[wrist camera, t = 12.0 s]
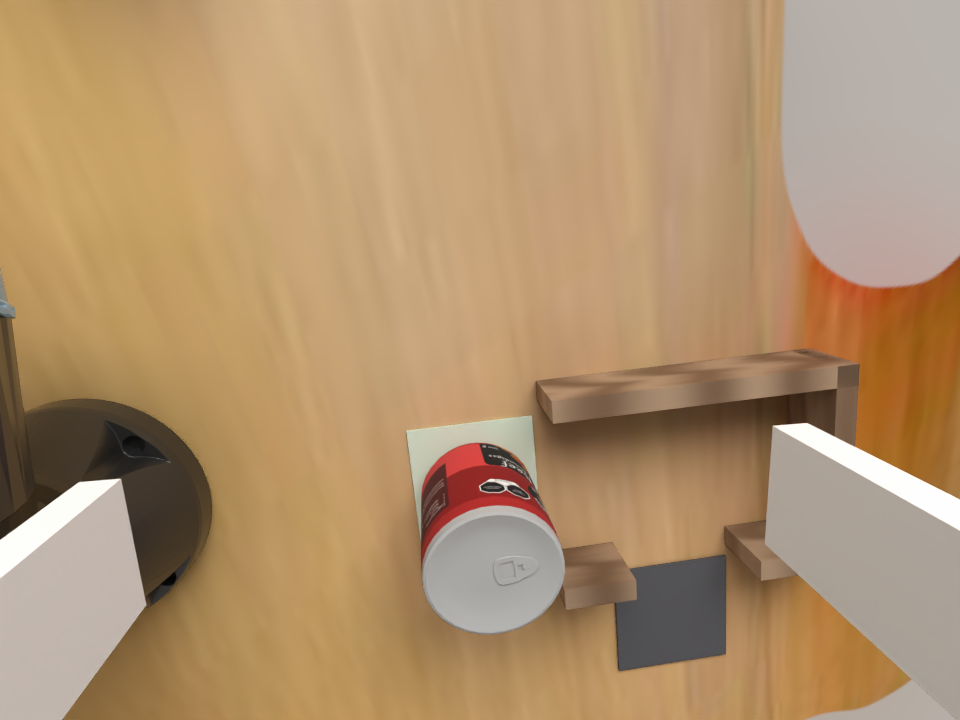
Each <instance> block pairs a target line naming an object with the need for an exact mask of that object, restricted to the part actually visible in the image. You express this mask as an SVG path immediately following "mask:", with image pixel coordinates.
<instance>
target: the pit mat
mask: <svg viewBox="0 0 960 720" xmlns="http://www.w3.org/2000/svg"><path fill="white" fill-rule="evenodd" d="M629 570H630V571H631V573H632V574H633V576H634V578H635V579H636V588H637V600H631V601H624V602H617V603H615V604H616V625H617V647H618V668H619V671H622V670H629V669H635V668H641V667H647V666H654V665H660V664H666V663H672V662H679V661H685V660H691V659H697V658H704V657H710V656H716V655H722V654H726V556H725V555H721V556H714V557H707V558H700V559H693V560H686V561H679V562H673V563H666V564H659V565H652V566H645V567H638V568H632V569H629Z"/></svg>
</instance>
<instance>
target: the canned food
mask: <svg viewBox="0 0 960 720" xmlns="http://www.w3.org/2000/svg"><path fill="white" fill-rule="evenodd" d="M421 573H422V582H423V586H424V592H425V594H426V597H427V600H428V602H429V604H430V605H431V607H432V608H433V610H434V611H435V612H436V613H437V614H438V615H439V616H440V617H441V618H442V619H443V620H444V621H446V622H447V623H449V624H450V625H452V626H453V627H456V628H458V629H461V630H463V631H466V632H471V633H476V634H499V633H506V632H509V631H512V630H516V629H519V628H521V627H523V626H525V625H527V624H529V623H531V622H532V621H534V620H535V619H537V618H538V617H539V616H541V615H542V614H543V613H544V612H545V611H546V610H547V609H548V608H549V607H550V606H551V604H552V603H553V601H554V600H555V598H556V597H557V595H558V594H559V591H560V589H561V586H562V584H563V579H564V574H565V560H564V556H563V551H562V547H561V544H560V541H559V539H558V537H557V534H556V531H555V529H554V527H553V525H552V522H551V520H550V518H549V516H548V514H547V512H546V509H545V507H544V505H543V503H542V501H541V499H540V496H539V494H538V492H537V490H536V488H535V486H534V483H533V481H532V479H531V477H530V475H529V473H528V471H527V469H526V467H525V465H524V464H523V463H522V462H521V461H520V459H519V458H518V457H517V456H515V455H514V454H513V453H511V452H510V451H508V450H506V449H504V448H502V447H499V446H497V445H493V444H489V443H469V444H465V445H461V446H458V447H456V448H454V449H452V450H450V451H448V452H447V453H445V454H444V455H443V456H441V457H440V458H439V459H438V460H437V461H436V463H435V464H434V465H433V466H432V467H431V468H430V470H429V472H428V473H427V475H426V477H425V480H424V483H423V486H422V494H421Z"/></svg>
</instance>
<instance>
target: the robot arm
mask: <svg viewBox="0 0 960 720" xmlns="http://www.w3.org/2000/svg"><path fill="white" fill-rule="evenodd" d="M11 318H13V319H14V318H16V317H15V309H14V307H13V306H12V305H10V304H9V303H8V299H7V295H6V291H5V287H4V282H3V278H2V274H1V270H0V720H62V719H63V718H64V716H65V715H66V714H67V712H68V711H69V710H70V708H71V707H72V706H73V704H74V703H75V701H76V700H77V699H78V697H79V696H80V695H81V693H82V692H83V691H84V689H85V688H86V686H87V685H88V684H89V682H90V681H91V680H92V678H93V677H94V676H95V674H96V673H97V672H98V670H99V669H100V667H101V666H102V665H103V663H104V662H105V661H106V659H107V658H108V657H109V655H110V654H111V653H112V651H113V650H114V648H115V647H116V646H117V644H118V643H119V642H120V640H121V639H122V638H123V636H124V635H125V634H126V632H127V631H128V629H129V628H130V627H131V625H132V624H133V623H134V621H135V620H136V619H137V617H138V616H139V614H140V613H141V612H142V611H143V610H144V609H146V608H148V607H149V606H151V605H153V604H154V603H155V602H157V601H158V600H160V599H161V598H163V597H164V596H165V595H166V594H167V593H169V592H170V591H171V590H172V589H173V588H174V587H175V586H176V585H177V584H178V583H179V582H180V581H181V579H182V578H183V577H184V576H185V574H186V573H187V571H188V570H189V568H190V567H191V565H192V564H193V563H194V561H195V560H196V558H197V557H198V555H199V554H200V552H201V550H202V548H203V546H204V544H205V542H206V539H207V536H208V533H209V529H210V524H211V515H212V504H211V495H210V490H209V486H208V482H207V480H206V477H205V474H204V472H203V470H202V468H201V466H200V464H199V462H198V460H197V459H196V457H195V456H194V454H193V453H192V451H191V450H190V449H189V447H188V446H187V445H186V444H185V443H184V442H183V441H182V440H181V439H180V438H179V437H178V436H177V435H176V434H175V433H174V432H173V431H172V430H171V429H169V428H168V427H167V426H165V425H164V424H163V423H161V422H160V421H158V420H157V419H155V418H153V417H151V416H150V415H148V414H146V413H144V412H141V411H139V410H137V409H134V408H132V407H129V406H126V405H123V404H119V403H115V402H110V401H105V400H97V399H70V400H62V401H57V402H52V403H49V404H45V405H42V406H39V407H37V408H34V409H32V410H30V411H28V412H25V413H24V408H23V402H22V395H21V389H20V381H19V373H18V366H17V358H16V350H15V342H14V335H13V327H12V319H11ZM765 545H766V546H767V547H768V548H770V549H771V550H772V551H773V552H774V553H775V554H776V555H777V556H778V557H779V558H780V559H782V560H783V561H784V562H785V563H786V564H787V565H788V566H789V567H790V568H791V569H792V570H794V571H795V572H796V573H797V574H798V575H799V576H800V577H801V578H802V579H803V580H804V581H806V582H807V583H808V584H809V585H810V586H811V587H812V588H813V589H814V590H815V591H816V592H817V593H819V594H820V595H821V596H822V597H823V598H824V599H825V600H826V601H827V602H828V603H829V604H831V605H832V606H833V607H834V608H835V609H836V610H837V611H838V612H839V613H840V614H841V615H843V616H844V617H845V618H846V619H847V620H848V621H849V622H850V623H851V624H852V625H853V626H855V627H856V628H857V629H858V630H859V631H860V632H861V633H862V634H863V635H864V636H865V637H867V638H868V639H869V640H870V641H871V642H872V643H873V644H874V645H875V646H876V647H877V648H878V649H880V650H881V651H882V652H883V653H884V654H885V655H886V656H887V657H888V658H889V659H890V660H892V661H893V662H894V663H895V664H896V665H897V666H898V667H899V668H900V669H901V670H902V671H904V672H905V673H906V674H907V675H908V676H909V677H910V678H911V679H912V680H913V681H914V682H916V683H917V684H918V685H919V686H920V687H921V688H922V689H923V690H924V691H925V692H926V693H927V694H929V695H930V696H931V697H932V698H933V699H934V700H935V701H936V702H938V703H939V704H940V705H941V706H942V707H943V708H944V709H945V710H946V711H947V712H948V713H949V714H950V715H952V716H953V717H954V718H955V719H956V720H960V499H958V498H956V497H954V496H952V495H950V494H948V493H946V492H944V491H942V490H940V489H938V488H936V487H934V486H932V485H930V484H928V483H926V482H924V481H922V480H920V479H918V478H916V477H914V476H912V475H910V474H908V473H906V472H904V471H902V470H900V469H898V468H896V467H894V466H892V465H890V464H888V463H886V462H884V461H882V460H880V459H878V458H876V457H874V456H872V455H870V454H868V453H866V452H864V451H862V450H860V449H858V448H856V447H854V446H852V445H850V444H848V443H846V442H844V441H842V440H840V439H838V438H836V437H834V436H832V435H830V434H828V433H826V432H824V431H822V430H820V429H818V428H816V427H814V426H812V425H810V424H808V423H801V424H789V425H777V426H773V430H772V444H771V459H770V474H769V488H768V503H767V518H766V532H765Z"/></svg>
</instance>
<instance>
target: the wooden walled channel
mask: <svg viewBox="0 0 960 720" xmlns="http://www.w3.org/2000/svg"><path fill="white" fill-rule="evenodd" d="M859 367H860V364H859V363H856V362H852V361H849V360H846V359H843V358H839V357H836V356H833V355H829V354H826V353H823V352H820V351H816V350H813V349H801V350H793V351H784V352H776V353H768V354H759V355H751V356H742V357H734V358H725V359H717V360H709V361H700V362H692V363H683V364H675V365H667V366H658V367H650V368H641V369H633V370H624V371H616V372H608V373H599V374H591V375H582V376H574V377H566V378H557V379H549V380H540V381H536V387H537V400H538V403H539V404H540V405H541V407H542V408H543V410H544V411H545V413H546V414H547V416H548V417H549V418H550V420H551V421H552V423H553V424H556V423H564V422H572V421H580V420H588V419H596V418H604V417H612V416H620V415H628V414H636V413H644V412H652V411H660V410H668V409H676V408H684V407H692V406H700V405H708V404H716V403H724V402H732V401H740V400H748V399H756V398H764V397H772V396H780V395H788V394H789V417H788V425H789V424H801V423H808V424H810V425H812V426H814V427H816V428H818V429H820V430H822V431H824V432H826V433H828V434H830V435H832V436H834V437H836V438H838V439H840V440H842V441H844V442H846V443H848V444H850V445H852V446H854V447H855V438H856V420H857V402H858V385H859ZM765 532H766V521H758V522H751V523H744V524H737V525H730V526H725V544H726V545H727V546H728V547H729V548H730V549H731V550H732V551H733V553H734V554H735V555H736V556H737V557H738V558H739V559H740V560H741V561H742V562H743V563H744V564H745V565H746V566H747V567H748V568H749V569H750V570H751V571H752V572H753V573H754V574H755V575H756V576H757V577H758V578H759V579H760V580H761V581H764V580H770V579H777V578H783V577H790V576H797V575H798V574H797V573H796V572H795V571H794V570H792V569H791V568H790V567H789V566H788V565H787V564H786V563H785V562H784V561H783V560H782V559H780V558H779V557H778V556H777V555H776V554H775V553H774V552H773V551H772V550H771V549H770V548H768V547H767V546H766V545H765ZM562 551H563V556H564V560H565V574H564V579H563V584H562V586H561V589H560V591H559V593H560V596H561V598H562V601H563V604H564V606H565V609H566V610H571V609H577V608H584V607H591V606H597V605H604V604H611V603H617V602H624V601H631V600H637V588H636V579H635V578H634V576H633V574H632V573H631V571H630V570H629V568H628V566H627V565H626V563H625V561H624V560H623V558H622V557H621V555H620V553H619V552H618V550H617V548H616V547H615V545H614V544H613V542H611V543H604V544H597V545H590V546H583V547H576V548H569V549H562Z"/></svg>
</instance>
